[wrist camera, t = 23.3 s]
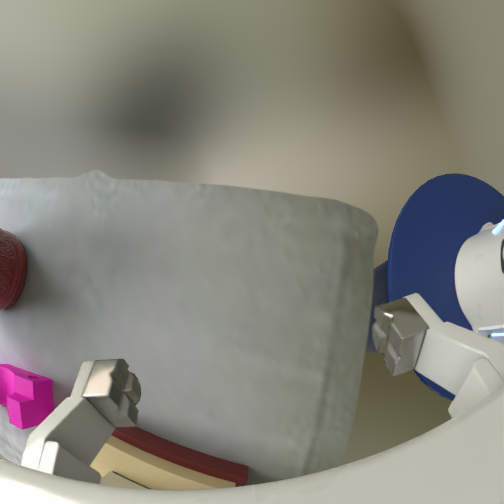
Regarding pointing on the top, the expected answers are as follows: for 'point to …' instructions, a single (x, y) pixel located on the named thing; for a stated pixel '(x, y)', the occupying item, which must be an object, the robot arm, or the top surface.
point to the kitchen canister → (11, 269)
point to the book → (120, 481)
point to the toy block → (25, 396)
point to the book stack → (164, 463)
